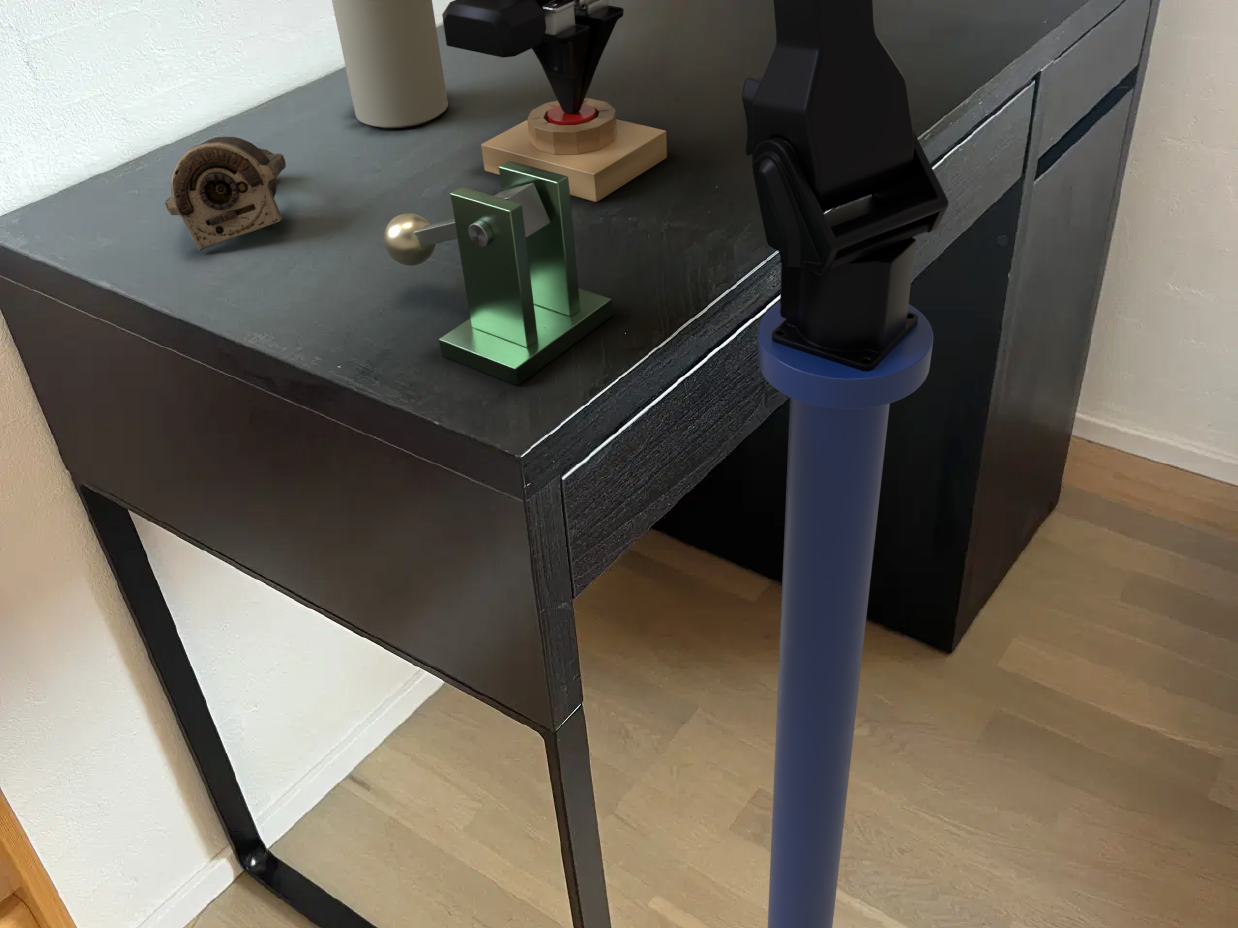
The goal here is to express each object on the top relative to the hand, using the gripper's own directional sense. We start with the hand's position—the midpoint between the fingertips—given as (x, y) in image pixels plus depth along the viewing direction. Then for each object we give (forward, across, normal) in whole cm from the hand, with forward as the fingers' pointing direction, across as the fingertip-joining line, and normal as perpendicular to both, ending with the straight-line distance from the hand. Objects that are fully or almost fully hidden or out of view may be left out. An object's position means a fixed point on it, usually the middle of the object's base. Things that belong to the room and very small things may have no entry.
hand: (571, 112), depth 86 cm
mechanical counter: (+4, +19, -16) cm, 25 cm away
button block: (+4, 0, 0) cm, 4 cm away
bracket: (+4, +21, +13) cm, 25 cm away
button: (+2, 0, 0) cm, 2 cm away
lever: (0, +21, +9) cm, 23 cm away
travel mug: (+4, -1, -20) cm, 21 cm away
